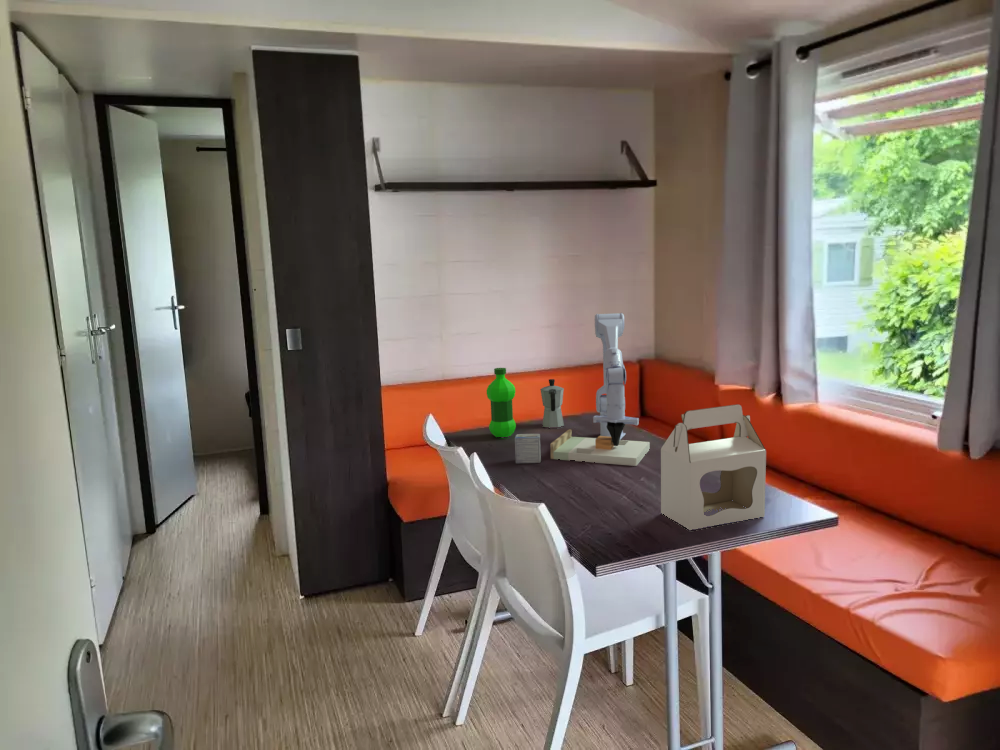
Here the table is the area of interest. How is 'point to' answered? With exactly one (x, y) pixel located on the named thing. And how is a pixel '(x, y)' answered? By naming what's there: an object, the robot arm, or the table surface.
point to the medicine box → (527, 448)
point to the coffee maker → (552, 405)
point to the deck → (597, 450)
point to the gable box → (730, 455)
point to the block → (604, 442)
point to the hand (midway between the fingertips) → (616, 445)
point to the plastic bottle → (501, 405)
